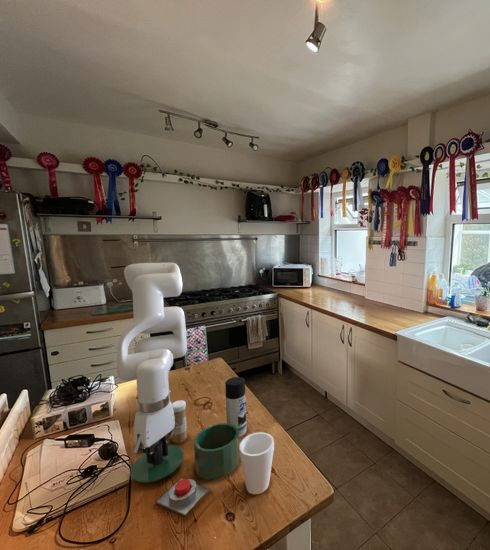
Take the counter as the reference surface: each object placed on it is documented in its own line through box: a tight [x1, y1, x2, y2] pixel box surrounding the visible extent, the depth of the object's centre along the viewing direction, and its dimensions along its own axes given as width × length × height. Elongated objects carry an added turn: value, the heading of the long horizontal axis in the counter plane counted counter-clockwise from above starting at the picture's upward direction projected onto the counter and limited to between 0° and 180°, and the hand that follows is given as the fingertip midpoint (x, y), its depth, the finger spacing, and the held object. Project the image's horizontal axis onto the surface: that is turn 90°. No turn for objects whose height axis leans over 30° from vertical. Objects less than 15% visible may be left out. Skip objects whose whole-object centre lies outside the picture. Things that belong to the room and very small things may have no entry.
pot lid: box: [129, 440, 185, 484], centre depth 86 cm, size 14×14×7 cm
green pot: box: [193, 422, 240, 480], centre depth 90 cm, size 13×13×10 cm
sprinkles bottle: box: [171, 400, 188, 444], centre depth 100 cm, size 5×5×14 cm
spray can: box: [224, 376, 248, 438], centre depth 103 cm, size 7×7×20 cm
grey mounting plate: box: [155, 477, 210, 518], centre depth 78 cm, size 10×8×3 cm
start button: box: [174, 478, 190, 496], centre depth 78 cm, size 4×4×2 cm
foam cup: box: [239, 431, 275, 495], centre depth 82 cm, size 10×9×13 cm
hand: (157, 458), depth 87 cm, fingers closed on pot lid, 2 cm apart
